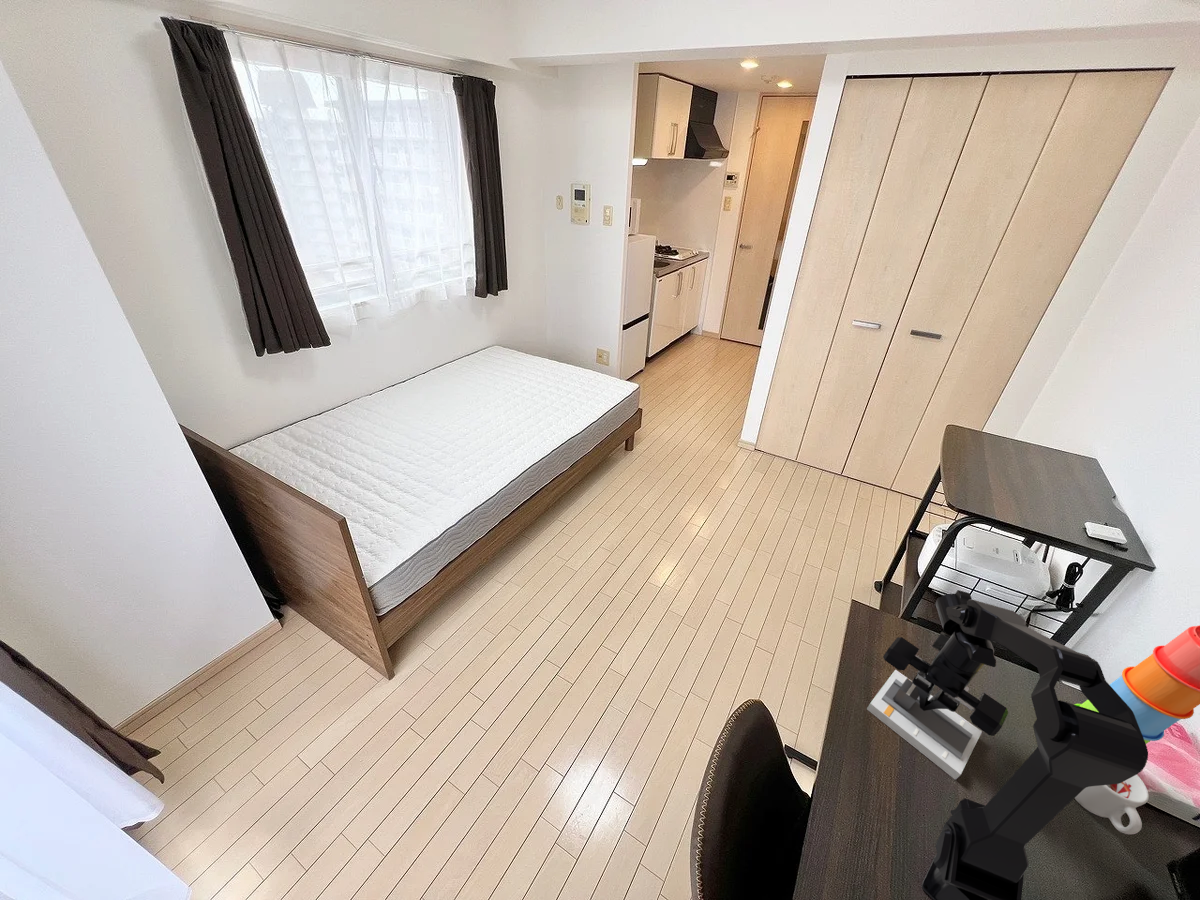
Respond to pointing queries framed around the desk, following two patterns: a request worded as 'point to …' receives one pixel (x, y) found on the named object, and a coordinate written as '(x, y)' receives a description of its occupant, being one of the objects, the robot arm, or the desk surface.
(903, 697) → the fader knob
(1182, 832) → the desk surface
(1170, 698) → the stacking cups
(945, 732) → the console board
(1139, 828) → the cup
